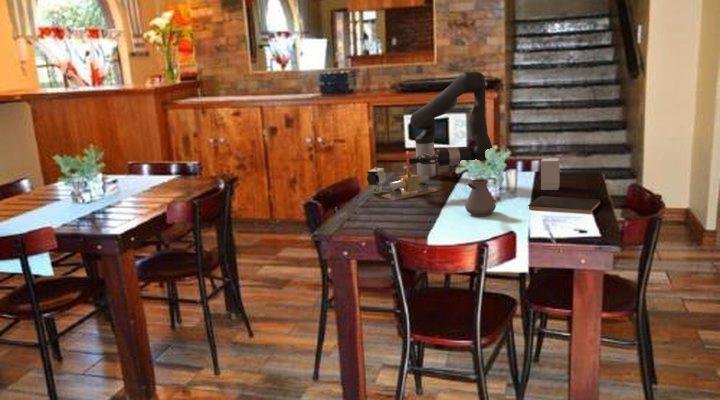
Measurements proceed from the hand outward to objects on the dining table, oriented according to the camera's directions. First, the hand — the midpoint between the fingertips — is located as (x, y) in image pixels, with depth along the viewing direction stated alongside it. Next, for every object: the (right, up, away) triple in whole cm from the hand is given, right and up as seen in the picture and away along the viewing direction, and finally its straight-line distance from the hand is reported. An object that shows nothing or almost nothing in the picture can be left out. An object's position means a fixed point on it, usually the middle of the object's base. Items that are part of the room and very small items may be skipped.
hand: (409, 161), depth 267 cm
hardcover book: (+57, -20, -28) cm, 66 cm away
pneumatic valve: (-13, -13, +21) cm, 28 cm away
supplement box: (+61, -12, +4) cm, 62 cm away
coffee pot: (+23, -23, -34) cm, 47 cm away
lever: (0, -4, +6) cm, 8 cm away
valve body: (+1, -14, +14) cm, 20 cm away
